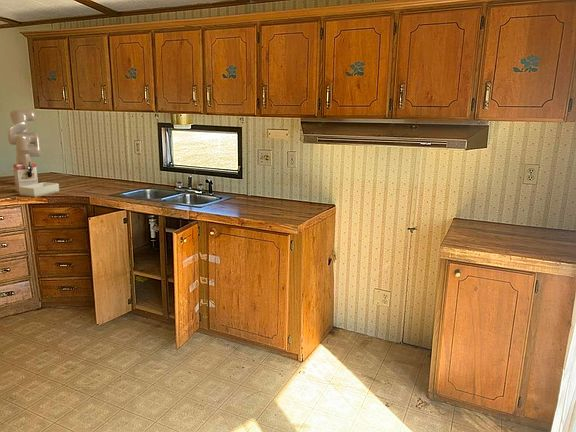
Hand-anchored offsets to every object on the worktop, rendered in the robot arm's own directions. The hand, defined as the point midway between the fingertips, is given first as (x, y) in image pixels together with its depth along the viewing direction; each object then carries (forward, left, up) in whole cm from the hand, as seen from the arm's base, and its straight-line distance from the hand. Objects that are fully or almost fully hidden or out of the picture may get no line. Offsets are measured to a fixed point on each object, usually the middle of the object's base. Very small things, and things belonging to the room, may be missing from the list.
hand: (26, 176), depth 323 cm
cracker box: (0, 0, -12) cm, 12 cm away
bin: (+14, -2, -11) cm, 18 cm away
